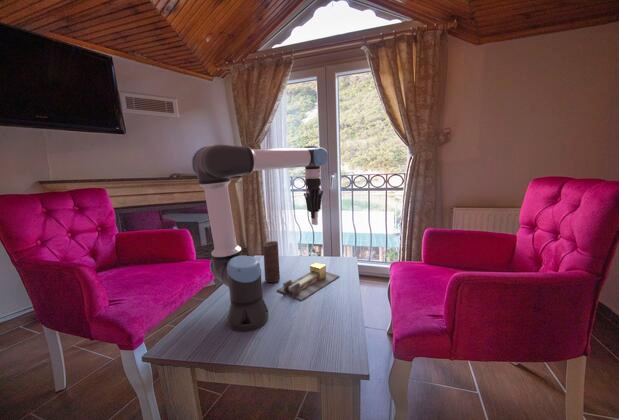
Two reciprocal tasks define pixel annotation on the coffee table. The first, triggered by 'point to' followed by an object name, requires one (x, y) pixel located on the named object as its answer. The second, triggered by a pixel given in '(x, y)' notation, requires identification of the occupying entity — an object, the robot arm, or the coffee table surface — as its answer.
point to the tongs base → (306, 286)
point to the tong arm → (305, 280)
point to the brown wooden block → (271, 261)
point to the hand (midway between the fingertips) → (314, 224)
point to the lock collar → (318, 270)
